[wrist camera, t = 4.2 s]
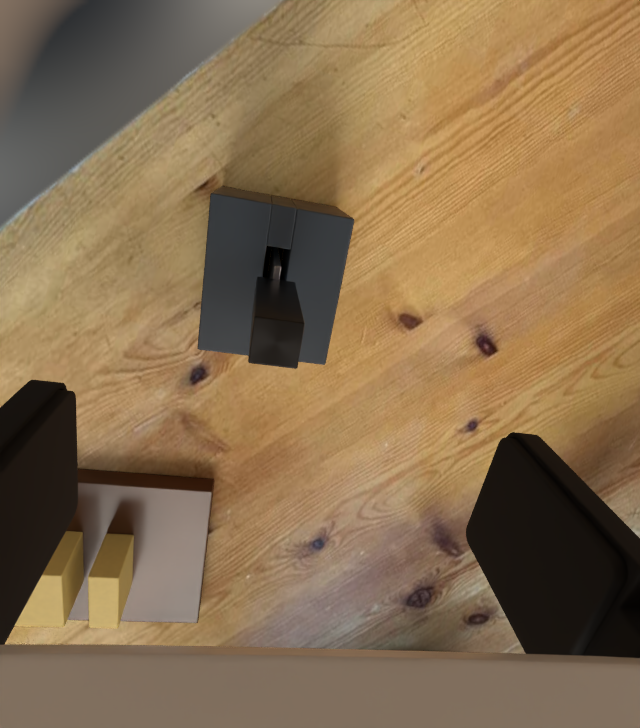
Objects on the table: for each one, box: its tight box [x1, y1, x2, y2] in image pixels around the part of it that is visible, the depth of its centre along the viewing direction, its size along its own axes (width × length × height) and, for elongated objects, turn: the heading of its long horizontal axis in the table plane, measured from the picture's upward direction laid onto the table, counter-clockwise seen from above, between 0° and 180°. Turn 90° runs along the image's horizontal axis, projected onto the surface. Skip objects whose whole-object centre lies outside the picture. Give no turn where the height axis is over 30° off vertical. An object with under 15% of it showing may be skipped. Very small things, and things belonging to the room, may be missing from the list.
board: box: [66, 469, 214, 623], centre depth 36 cm, size 20×14×2 cm
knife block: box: [198, 186, 354, 365], centre depth 27 cm, size 7×8×6 cm
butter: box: [15, 531, 84, 627], centre depth 33 cm, size 6×5×4 cm
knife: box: [248, 246, 305, 368], centre depth 23 cm, size 2×3×14 cm, turn 170°
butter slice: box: [88, 533, 134, 628], centre depth 34 cm, size 2×5×4 cm, turn 170°
